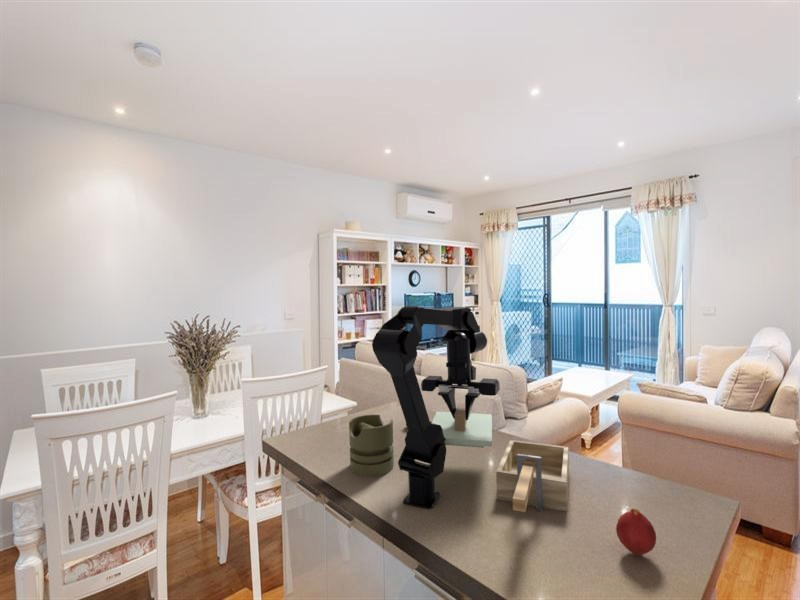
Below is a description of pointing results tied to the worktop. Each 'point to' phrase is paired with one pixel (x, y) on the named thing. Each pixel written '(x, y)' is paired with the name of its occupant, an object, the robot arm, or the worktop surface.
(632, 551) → the onion
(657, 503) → the worktop surface
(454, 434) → the lid
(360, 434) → the piston
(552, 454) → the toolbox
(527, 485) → the tan rectangular bar
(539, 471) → the bracket
